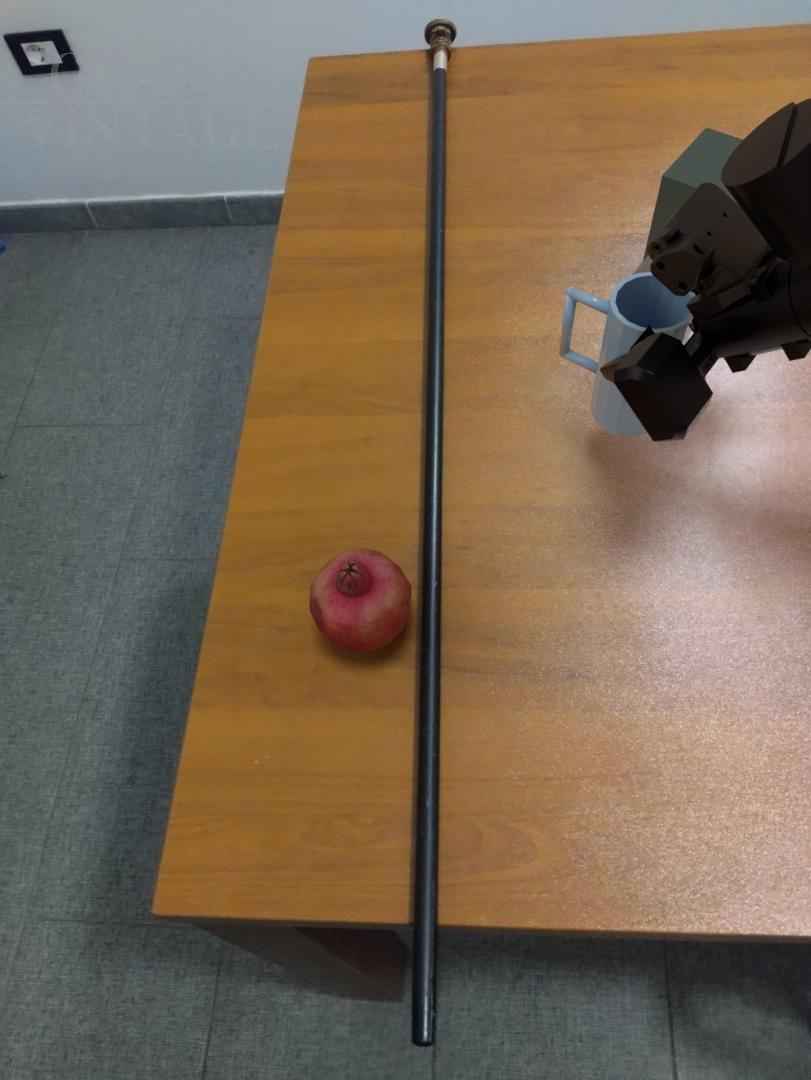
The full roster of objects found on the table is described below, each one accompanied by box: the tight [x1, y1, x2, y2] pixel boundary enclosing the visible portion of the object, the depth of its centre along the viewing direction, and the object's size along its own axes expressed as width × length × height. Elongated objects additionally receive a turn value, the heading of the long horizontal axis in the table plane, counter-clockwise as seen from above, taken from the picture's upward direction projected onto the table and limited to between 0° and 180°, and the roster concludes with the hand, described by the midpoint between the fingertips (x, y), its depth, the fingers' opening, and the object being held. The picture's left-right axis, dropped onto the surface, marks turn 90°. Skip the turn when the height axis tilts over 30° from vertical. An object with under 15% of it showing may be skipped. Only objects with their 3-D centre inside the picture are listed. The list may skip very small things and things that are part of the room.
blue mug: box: [558, 272, 696, 438], centre depth 59 cm, size 10×6×12 cm, turn 52°
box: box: [607, 127, 744, 302], centre depth 69 cm, size 8×23×14 cm, turn 142°
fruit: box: [308, 547, 413, 653], centre depth 59 cm, size 8×8×10 cm
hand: (625, 347), depth 58 cm, fingers closed on blue mug, 6 cm apart
